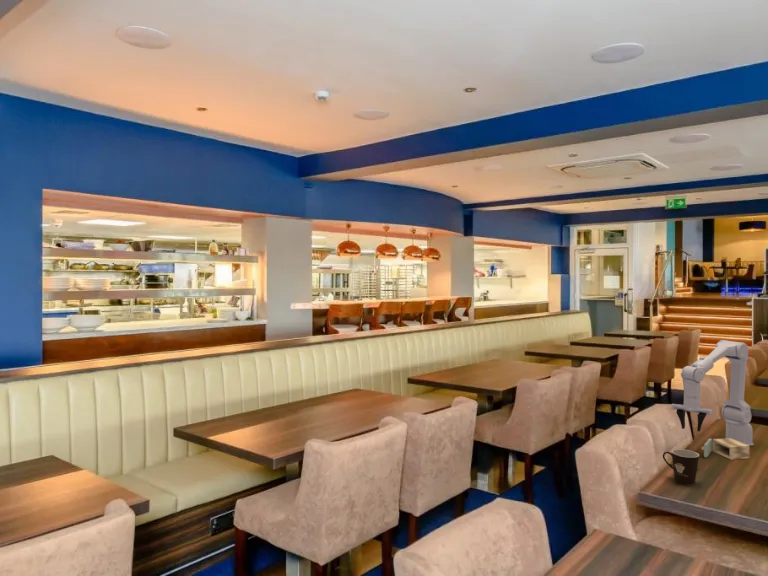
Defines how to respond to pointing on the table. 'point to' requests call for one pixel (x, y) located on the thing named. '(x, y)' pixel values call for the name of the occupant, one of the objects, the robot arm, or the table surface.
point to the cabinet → (730, 448)
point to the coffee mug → (684, 465)
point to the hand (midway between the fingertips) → (691, 429)
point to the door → (707, 447)
